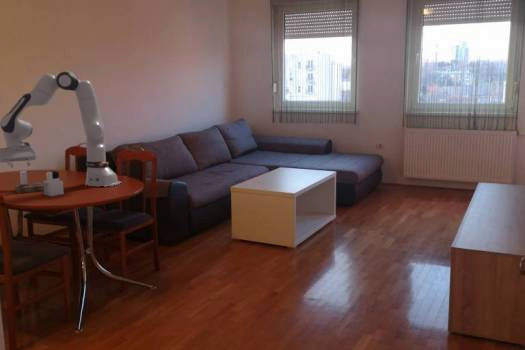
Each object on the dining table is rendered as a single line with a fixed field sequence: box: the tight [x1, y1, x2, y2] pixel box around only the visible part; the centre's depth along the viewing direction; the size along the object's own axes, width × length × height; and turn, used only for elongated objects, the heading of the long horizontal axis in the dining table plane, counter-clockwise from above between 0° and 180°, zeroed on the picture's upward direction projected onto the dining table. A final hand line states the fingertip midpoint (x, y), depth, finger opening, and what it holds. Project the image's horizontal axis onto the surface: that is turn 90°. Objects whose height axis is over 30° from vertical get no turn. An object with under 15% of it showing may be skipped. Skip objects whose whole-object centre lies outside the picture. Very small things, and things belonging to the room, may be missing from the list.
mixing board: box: [14, 181, 44, 194], centre depth 311 cm, size 20×11×3 cm, turn 126°
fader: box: [19, 170, 30, 186], centre depth 306 cm, size 4×5×8 cm
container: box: [42, 170, 64, 197], centre depth 298 cm, size 8×8×13 cm
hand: (20, 165), depth 310 cm, fingers open, 8 cm apart
